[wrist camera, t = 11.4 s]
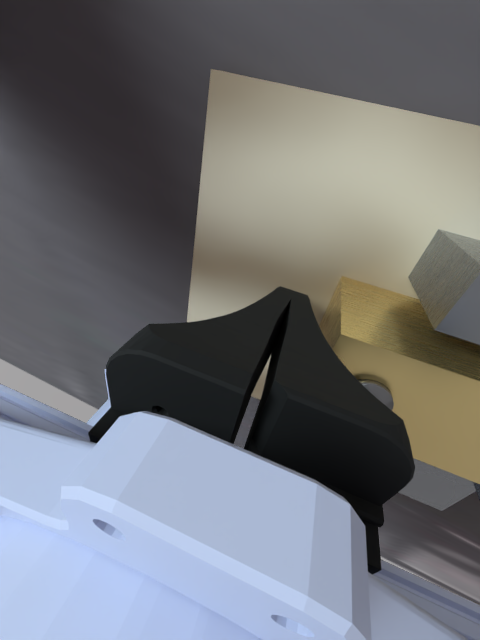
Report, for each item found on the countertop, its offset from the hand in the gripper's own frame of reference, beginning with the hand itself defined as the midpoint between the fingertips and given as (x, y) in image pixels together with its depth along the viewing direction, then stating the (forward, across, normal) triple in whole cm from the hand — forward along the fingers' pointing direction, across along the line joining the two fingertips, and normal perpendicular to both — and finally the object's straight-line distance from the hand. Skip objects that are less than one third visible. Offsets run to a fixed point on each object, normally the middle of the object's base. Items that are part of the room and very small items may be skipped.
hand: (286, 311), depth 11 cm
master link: (+1, -6, 0) cm, 6 cm away
